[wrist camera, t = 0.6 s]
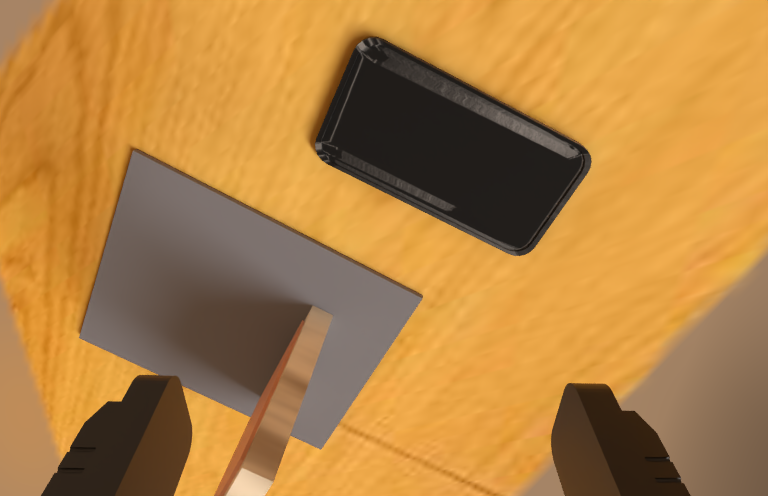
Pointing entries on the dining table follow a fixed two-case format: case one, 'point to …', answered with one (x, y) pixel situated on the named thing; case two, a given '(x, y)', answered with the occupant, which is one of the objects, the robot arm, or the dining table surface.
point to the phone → (449, 148)
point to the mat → (234, 298)
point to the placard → (275, 412)
